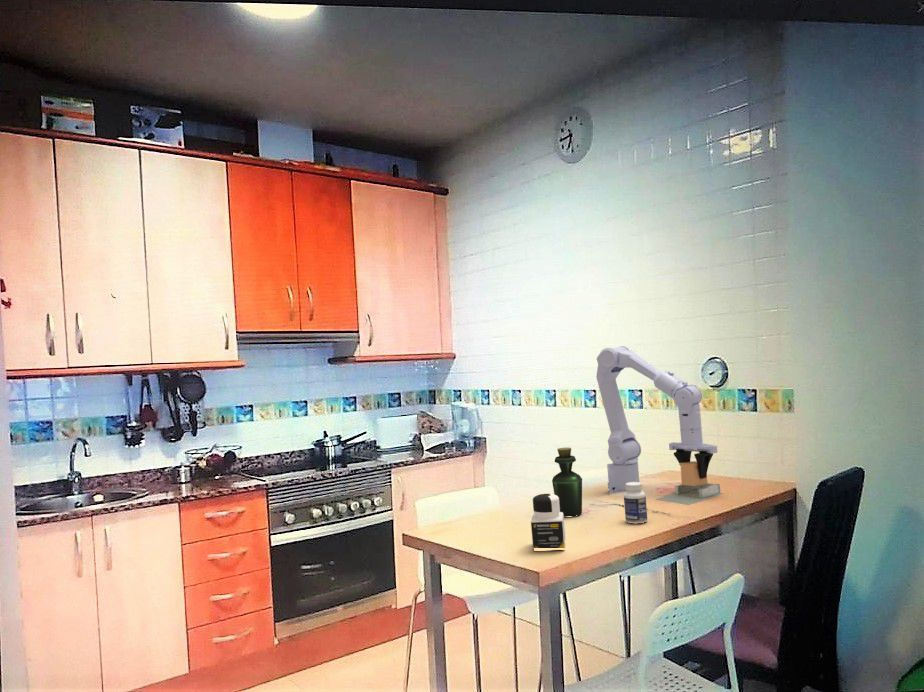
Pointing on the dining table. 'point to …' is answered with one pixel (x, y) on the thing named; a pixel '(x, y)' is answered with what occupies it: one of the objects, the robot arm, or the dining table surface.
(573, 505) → the potion bottle
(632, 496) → the pill bottle
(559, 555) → the dining table surface
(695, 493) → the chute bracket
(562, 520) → the medicine bottle
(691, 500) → the deck plate
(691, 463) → the chute block
